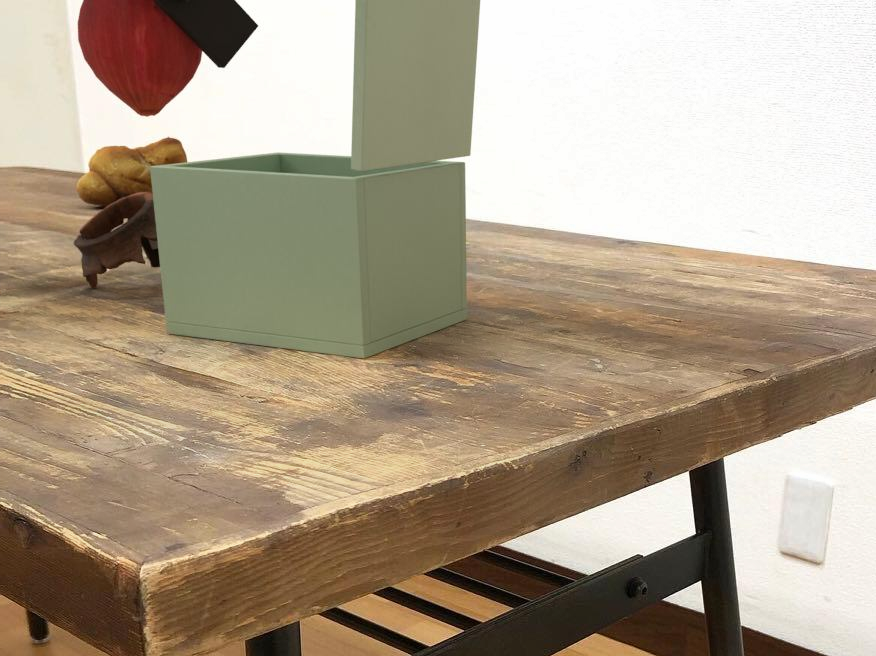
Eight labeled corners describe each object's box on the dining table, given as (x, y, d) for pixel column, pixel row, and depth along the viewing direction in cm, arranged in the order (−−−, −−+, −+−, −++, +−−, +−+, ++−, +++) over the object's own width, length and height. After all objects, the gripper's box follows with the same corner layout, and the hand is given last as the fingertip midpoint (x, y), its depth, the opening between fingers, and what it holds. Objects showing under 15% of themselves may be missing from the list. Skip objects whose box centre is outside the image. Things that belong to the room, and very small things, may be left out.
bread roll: (83, 211, 143) (74, 139, 140) (72, 202, 151) (63, 134, 148) (196, 207, 148) (189, 137, 145) (179, 198, 156) (172, 132, 153)
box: (166, 333, 83) (149, 166, 79) (287, 299, 94) (277, 152, 90) (364, 358, 77) (356, 178, 73) (467, 319, 88) (465, 162, 84)
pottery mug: (224, 300, 96) (162, 210, 91) (119, 354, 97) (52, 267, 92) (225, 239, 106) (170, 154, 100) (130, 288, 107) (70, 207, 101)
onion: (231, 118, 62) (218, -60, 59) (124, 122, 58) (105, -68, 55) (170, 112, 65) (155, -55, 62) (66, 115, 62) (45, -63, 59)
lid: (358, -146, 66) (371, -146, 66) (476, -116, 78) (488, -116, 77) (350, 169, 73) (361, 171, 72) (460, 154, 84) (470, 155, 84)
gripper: (-127, -575, 41) (343, -14, 56) (-199, -422, 55) (192, -7, 70) (-277, -413, 40) (241, 112, 55) (-311, -300, 54) (109, 94, 69)
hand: (213, 45), depth 62 cm, fingers closed on onion, 6 cm apart
